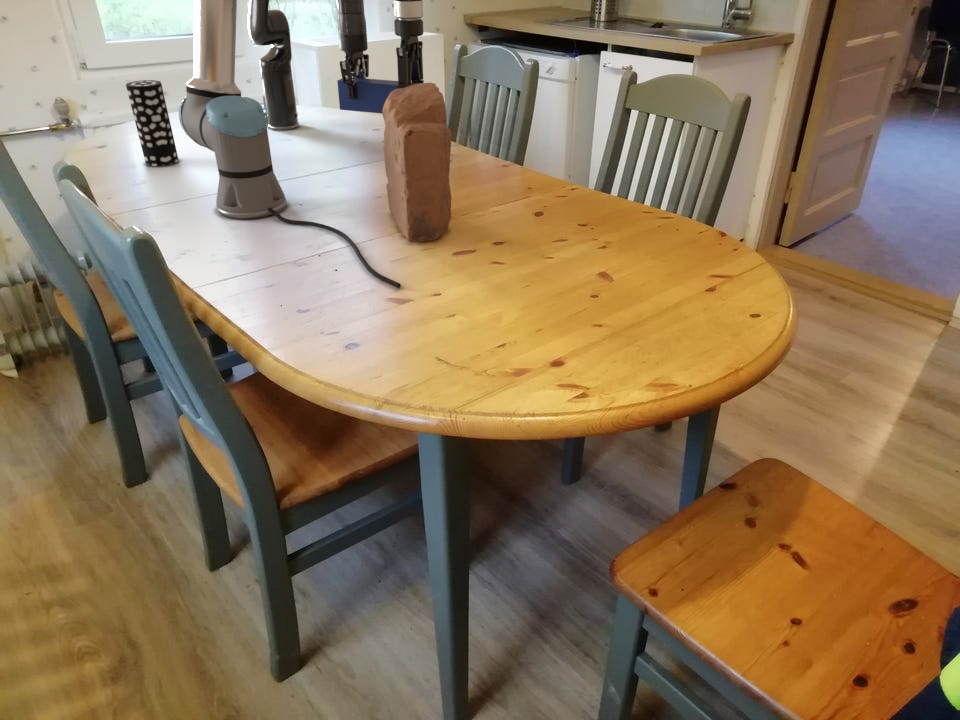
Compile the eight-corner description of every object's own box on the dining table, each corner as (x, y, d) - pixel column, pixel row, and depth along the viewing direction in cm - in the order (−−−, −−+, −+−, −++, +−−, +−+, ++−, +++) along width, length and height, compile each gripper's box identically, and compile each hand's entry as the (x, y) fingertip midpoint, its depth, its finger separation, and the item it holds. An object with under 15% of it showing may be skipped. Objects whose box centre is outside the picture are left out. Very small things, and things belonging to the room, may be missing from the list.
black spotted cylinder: (184, 157, 190) (167, 80, 179) (169, 166, 183) (151, 87, 172) (155, 156, 190) (136, 79, 179) (139, 165, 183) (119, 86, 172)
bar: (429, 112, 194) (429, 83, 189) (423, 117, 189) (422, 87, 185) (348, 105, 199) (345, 76, 195) (339, 109, 195) (337, 80, 191)
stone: (462, 239, 143) (459, 96, 128) (408, 246, 140) (400, 100, 125) (434, 208, 160) (429, 79, 146) (387, 213, 157) (377, 82, 143)
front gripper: (407, 14, 188) (411, 102, 200) (381, 22, 173) (387, 117, 185) (433, 15, 186) (435, 104, 198) (409, 23, 171) (413, 119, 184)
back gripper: (351, 27, 192) (356, 91, 201) (327, 33, 180) (333, 101, 189) (376, 28, 190) (379, 93, 199) (353, 35, 178) (358, 103, 188)
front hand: (412, 110), depth 192 cm, fingers closed on bar, 5 cm apart
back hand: (357, 96), depth 194 cm, fingers closed on bar, 5 cm apart
